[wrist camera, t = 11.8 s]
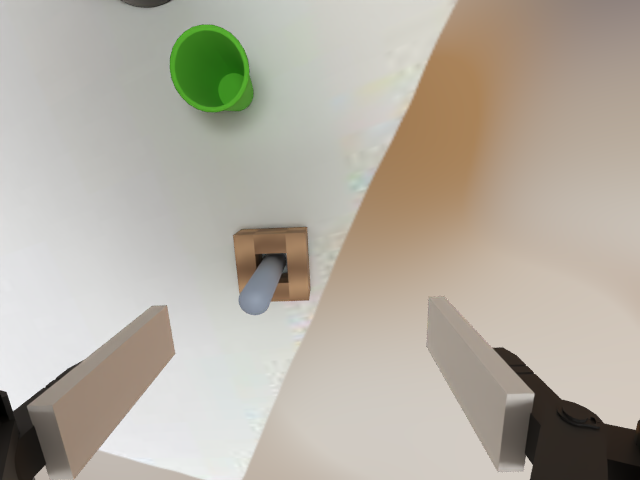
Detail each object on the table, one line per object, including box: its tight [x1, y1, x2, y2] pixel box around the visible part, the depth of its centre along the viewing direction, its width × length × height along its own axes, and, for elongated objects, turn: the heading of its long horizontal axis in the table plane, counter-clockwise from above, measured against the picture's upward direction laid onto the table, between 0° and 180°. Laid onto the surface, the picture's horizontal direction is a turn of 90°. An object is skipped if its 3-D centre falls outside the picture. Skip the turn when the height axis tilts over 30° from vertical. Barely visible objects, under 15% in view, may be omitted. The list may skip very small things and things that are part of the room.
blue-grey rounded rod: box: [239, 253, 286, 315], centre depth 43 cm, size 4×4×16 cm
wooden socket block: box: [233, 227, 310, 301], centre depth 49 cm, size 11×11×4 cm
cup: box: [170, 25, 253, 112], centre depth 40 cm, size 9×9×11 cm
